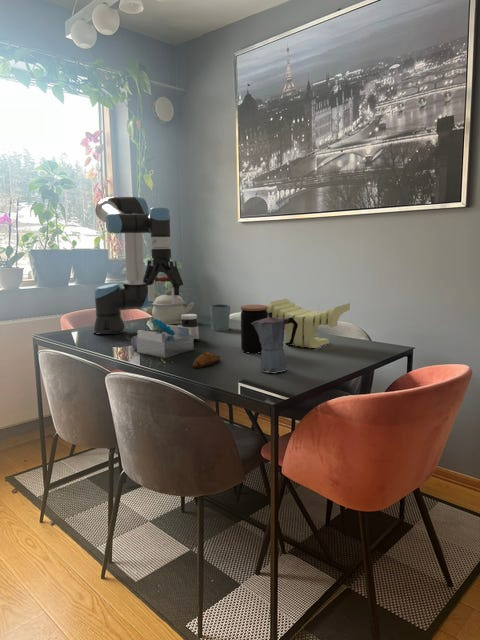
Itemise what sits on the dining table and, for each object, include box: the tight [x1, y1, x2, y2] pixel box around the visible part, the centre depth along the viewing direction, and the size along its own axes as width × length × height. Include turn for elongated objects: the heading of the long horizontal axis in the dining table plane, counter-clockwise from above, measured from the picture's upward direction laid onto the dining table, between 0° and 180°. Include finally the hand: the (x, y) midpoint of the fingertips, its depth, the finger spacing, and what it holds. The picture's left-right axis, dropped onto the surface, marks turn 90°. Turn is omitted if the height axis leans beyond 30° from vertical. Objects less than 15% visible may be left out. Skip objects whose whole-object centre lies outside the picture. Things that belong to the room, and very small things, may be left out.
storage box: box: [130, 324, 195, 359], centre depth 191 cm, size 22×16×10 cm
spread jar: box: [177, 313, 200, 343], centre depth 208 cm, size 12×11×12 cm
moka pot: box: [252, 312, 298, 372], centre depth 157 cm, size 10×15×20 cm, turn 95°
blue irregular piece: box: [153, 318, 175, 336], centre depth 187 cm, size 11×6×10 cm
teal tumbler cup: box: [209, 303, 231, 332], centre depth 233 cm, size 10×10×12 cm
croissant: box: [192, 351, 221, 369], centre depth 168 cm, size 14×7×5 cm, turn 143°
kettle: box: [150, 276, 195, 325], centre depth 253 cm, size 25×18×25 cm
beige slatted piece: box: [267, 298, 351, 349], centre depth 195 cm, size 30×16×18 cm, turn 53°
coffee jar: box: [240, 304, 268, 353], centre depth 186 cm, size 11×11×18 cm
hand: (163, 302), depth 186 cm, fingers open, 13 cm apart
